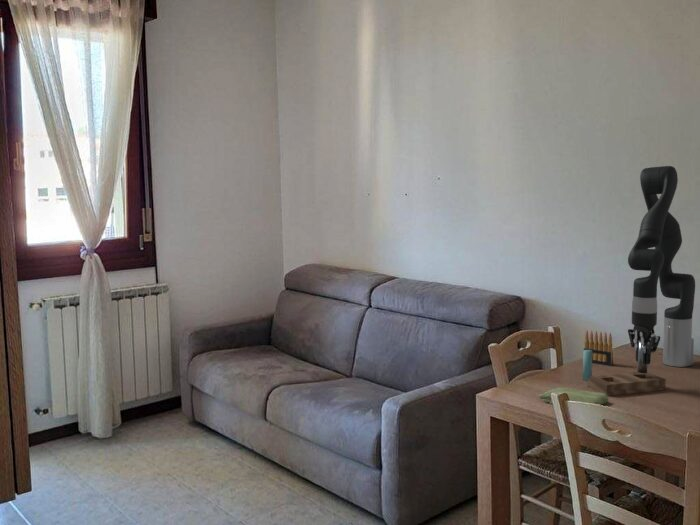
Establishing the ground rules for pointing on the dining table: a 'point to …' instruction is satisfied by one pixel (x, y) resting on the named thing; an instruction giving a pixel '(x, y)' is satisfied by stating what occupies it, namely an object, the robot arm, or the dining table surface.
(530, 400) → the dining table surface
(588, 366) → the teal peg
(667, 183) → the robot arm
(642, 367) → the steel peg
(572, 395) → the washcloth
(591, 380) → the hole block
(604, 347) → the ammunition clip
